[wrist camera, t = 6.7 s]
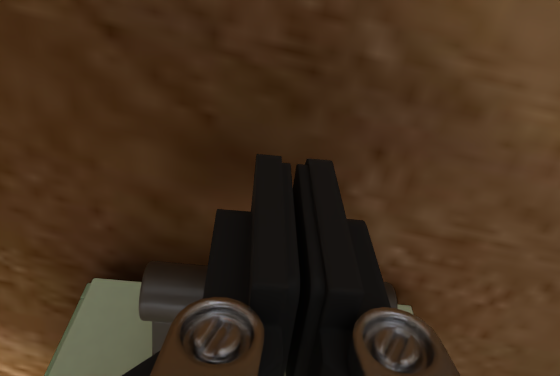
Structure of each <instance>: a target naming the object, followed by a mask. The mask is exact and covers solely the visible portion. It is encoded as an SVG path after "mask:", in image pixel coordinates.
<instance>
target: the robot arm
mask: <svg viewBox="0 0 560 376" xmlns="http://www.w3.org/2000/svg"><path fill="white" fill-rule="evenodd" d="M285 373H286V376H460V374H459V372H458V371H457V369H456V367H455V365H454V363H453V362H452V360H451V358H450V356H449V354H448V353H447V351H446V349H445V347H444V345H443V344H442V342H441V340H440V338H439V337H438V336H437V334H436V333H435V332H434V330H433V329H432V328H431V327H430V326H429V325H428V324H426V323H425V322H424V321H423V320H422V319H420V318H419V317H417V316H415V315H413V314H411V313H409V312H407V311H403V310H400V309H397V308H391V306H390V302H389V299H388V296H387V292H386V289H385V286H384V282H383V279H382V276H381V272H380V269H379V266H378V262H377V259H376V256H375V252H374V249H373V246H372V242H371V239H370V235H369V232H368V229H367V226H366V224H365V222H364V221H363V220H351V219H346V215H345V211H344V207H343V203H342V199H341V195H340V190H339V186H338V182H337V178H336V174H335V170H334V166H333V162H332V161H330V160H319V159H307V160H306V163H305V165H302V164H297V166H296V171H295V177H294V184H293V188H292V176H291V165H290V163H282V158H281V156H273V155H261V154H257V156H256V165H255V175H254V185H253V196H252V206H251V212H248V211H235V210H222V209H217V212H216V218H215V224H214V230H213V237H212V243H211V249H210V256H209V262H208V268H207V275H206V281H205V287H204V294H203V299H200V300H198V301H196V302H193V303H191V304H189V305H187V306H186V307H185V308H184V309H183V310H181V311H180V312H179V313H178V314H177V316H176V317H175V319H174V320H173V322H172V324H171V326H170V328H169V331H168V333H167V336H166V338H165V340H164V343H163V345H162V348H161V350H160V351H158V352H157V353H155V354H154V355H152V356H151V357H149V358H148V359H146V360H145V361H143V362H142V363H140V364H139V365H137V366H135V367H134V368H132V369H131V370H129V371H128V372H126V373H125V374H123V375H122V376H284V375H285Z"/></svg>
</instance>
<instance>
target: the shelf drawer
mask: <svg viewBox="0 0 560 376" xmlns="http://www.w3.org/2000/svg"><path fill="white" fill-rule="evenodd" d="M207 268H208V266H204V265H193V264H182V263H171V262H160V261H150V262H149V263H148V264H147V266H146V268H145V271H144V274H143V278H142V282H135V281H123V280H112V279H100V278H94V279H93V280H92V282H91V285H90V287H89V289H88V291H87V293H86V295H85V298H84V300H83V302H82V304H81V306H80V308H79V311H78V313H77V315H76V317H75V319H74V321H73V324H72V326H71V328H70V330H69V332H68V334H67V337H66V339H65V341H64V343H63V345H62V347H61V350H60V352H59V354H58V356H57V358H56V360H55V363H54V365H53V367H52V369H51V371H50V373H49V376H122V375H123V374H125V373H126V372H128V371H129V370H131V369H132V368H134V367H135V366H137V365H139V364H140V363H142V362H143V361H145V360H146V359H148V358H149V357H151V356H152V355H154V354H155V353H157V352H158V351H160V350H161V348H162V345H163V343H164V340H165V338H166V336H167V333H168V331H169V328H170V326H171V324H172V322H173V320H174V319H175V317H176V316H177V314H178V313H179V312H180V311H181V310H183V309H184V308H185V307H186V306H187V305H189V304H191V303H193V302H196V301H198V300H200V299H203V294H204V287H205V281H206V275H207ZM384 286H385V289H386V292H387V296H388V299H389V302H390V306H391V308H397V309H400V310H403V311H407V312H409V313H411V314H413V311H412V308H411V306H409V305H398V304H397V297H396V293H395V290H394V288H393V286H392V285H391V284H390V283H388V282H384ZM413 315H414V314H413ZM284 376H286V373H285V375H284Z"/></svg>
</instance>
